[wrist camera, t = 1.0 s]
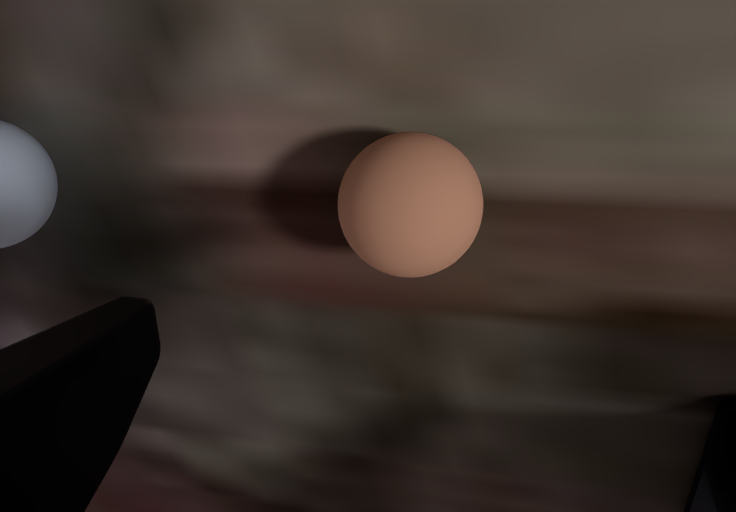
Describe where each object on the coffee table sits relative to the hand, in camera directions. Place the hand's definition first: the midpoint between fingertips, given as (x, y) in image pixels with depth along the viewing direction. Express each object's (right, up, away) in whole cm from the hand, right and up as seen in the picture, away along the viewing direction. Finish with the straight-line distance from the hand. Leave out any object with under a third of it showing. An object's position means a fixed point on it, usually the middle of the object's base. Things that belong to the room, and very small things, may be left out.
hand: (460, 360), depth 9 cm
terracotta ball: (0, +4, +11) cm, 11 cm away
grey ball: (-13, +5, +13) cm, 19 cm away
